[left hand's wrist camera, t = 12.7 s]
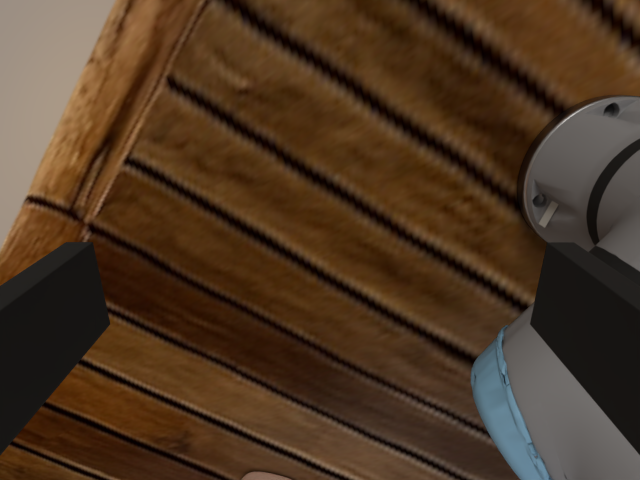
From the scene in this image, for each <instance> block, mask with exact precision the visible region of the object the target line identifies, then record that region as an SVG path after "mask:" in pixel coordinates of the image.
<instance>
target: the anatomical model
mask: <svg viewBox="0 0 640 480" xmlns="http://www.w3.org/2000/svg"><path fill="white" fill-rule="evenodd" d="M241 480H292V479H289V478H286V477H283V476H280V475H276V474H271V473H266V472H250V473H248V474H246V475H245V476H244V477H243V478H242V479H241Z"/></svg>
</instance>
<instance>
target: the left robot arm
mask: <svg viewBox="0 0 640 480" xmlns="http://www.w3.org/2000/svg"><path fill="white" fill-rule="evenodd" d="M517 190H518V201H519V206H520V210H521V212H522V215H523V217H524V219H525V221H526V222H527V224H528V225H529V227H530V228H531V229H532V230H533V231H534V232H535V233H536V234H537V235H538V236H540V237H541V238H542V239H544V240H545V241H546V242H547V246H546V251H545V256H544V260H543V265H542V270H541V274H540V279H539V284H538V288H537V293H536V298H535V302H534V303H533V304H532V305H531V306H530V307H528V308H527V309H526V310H525V311H524V312H523V313H522V314H521V315H520V316H519V317H518V318H517V319H516V320H515V321H513V322H512V323H511V324H510V325H509V326H508V325H506V326H504V327H503V328H502V329H501V330H500V331H499V333H498V337H497V338H496V339H495V340H494V341H493V342H492V343H491V344H490V345H489V346H488V347H487V348H486V349H485V350H484V351H483V352H482V353H481V355H480V356H479V357H478V358H477V359H476V361H475V362H474V364H473V367H472V370H471V386H472V390H473V391H472V392H473V397H474V401H475V404H476V407H477V409H478V412H479V414H480V416H481V419H482V421H483V423H484V425H485V427H486V429H487V431H488V433H489V434H490V436H491V438H492V440H493V441H494V443H495V445H496V446H497V448H498V449H499V451H500V452H501V454H502V455H503V457H504V458H505V460H506V461H507V463H508V464H509V466H510V467H511V468H512V470H513V471H514V472H515V474H516V475H517V476H518V477H519V478H520V480H640V97H638V96H626V95H608V96H601V97H596V98H593V99H589V100H586V101H584V102H581V103H579V104H577V105H575V106H573V107H571V108H569V109H567V110H566V111H564V112H563V113H561V114H560V115H559V116H557V117H556V118H555V119H554V120H552V121H551V122H550V123H549V124H548V125H547V126H546V127H545V128H544V129H543V130H542V131H541V132H540V134H539V135H538V136H537V137H536V139H535V140H534V142H533V143H532V145H531V146H530V148H529V150H528V152H527V154H526V156H525V158H524V160H523V163H522V166H521V169H520V173H519V178H518V189H517ZM109 325H110V321H109V316H108V312H107V307H106V302H105V298H104V293H103V288H102V284H101V279H100V274H99V270H98V265H97V260H96V256H95V251H94V246H93V242H66V243H64V244H63V245H61V246H60V247H58V248H57V249H55V250H54V251H52V252H51V253H49V254H48V255H46V256H45V257H43V258H42V259H40V260H39V261H37V262H36V263H34V264H33V265H31V266H30V267H28V268H27V269H25V270H24V271H22V272H21V273H19V274H18V275H16V276H15V277H13V278H12V279H10V280H9V281H7V282H6V283H4V284H3V285H1V286H0V455H1V454H2V453H3V451H4V450H5V449H6V448H7V447H8V445H9V444H10V443H11V442H12V441H13V439H14V438H15V437H16V436H17V435H18V433H19V432H20V431H21V430H22V429H23V428H24V426H25V425H26V424H27V423H28V422H29V420H30V419H31V418H32V417H33V416H34V414H35V413H36V412H37V411H38V410H39V408H40V407H41V406H42V405H43V404H44V402H45V401H46V400H47V399H48V398H49V397H50V395H51V394H52V393H53V392H54V391H55V389H56V388H57V387H58V386H59V385H60V383H61V382H62V381H63V380H64V379H65V377H66V376H67V375H68V374H69V373H70V371H71V370H72V369H73V368H74V367H75V365H76V364H77V363H78V362H79V361H80V360H81V358H82V357H83V356H84V355H85V354H86V352H87V351H88V350H89V349H90V348H91V346H92V345H93V344H94V343H95V342H96V340H97V339H98V338H99V337H100V336H101V334H102V333H103V332H104V331H105V330H106V329H107V327H108V326H109Z"/></svg>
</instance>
